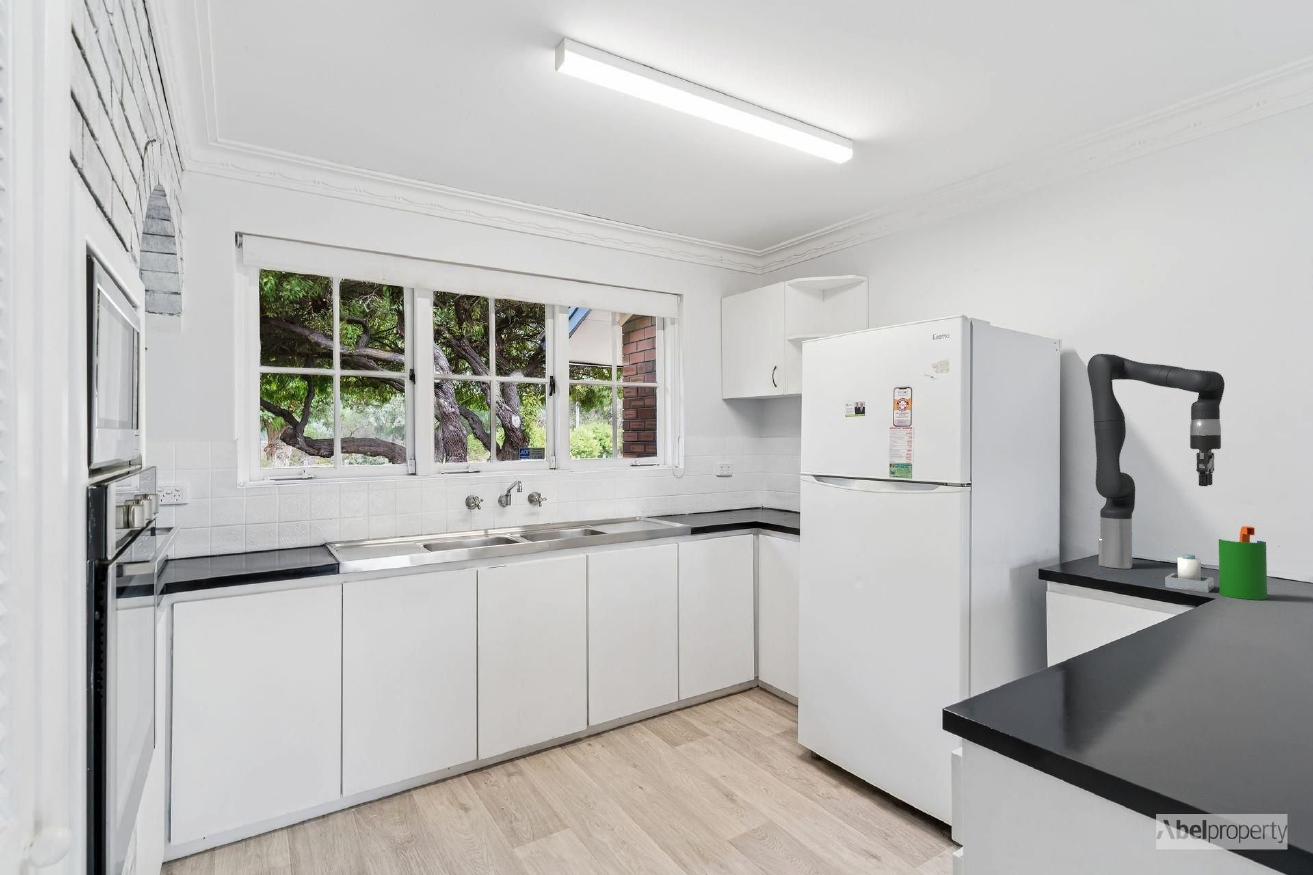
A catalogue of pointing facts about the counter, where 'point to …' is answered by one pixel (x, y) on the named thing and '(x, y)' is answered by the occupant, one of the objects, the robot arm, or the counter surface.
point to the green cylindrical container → (1243, 567)
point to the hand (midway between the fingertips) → (1205, 485)
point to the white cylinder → (1189, 567)
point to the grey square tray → (1189, 583)
